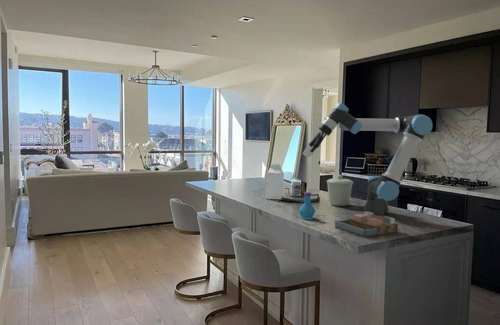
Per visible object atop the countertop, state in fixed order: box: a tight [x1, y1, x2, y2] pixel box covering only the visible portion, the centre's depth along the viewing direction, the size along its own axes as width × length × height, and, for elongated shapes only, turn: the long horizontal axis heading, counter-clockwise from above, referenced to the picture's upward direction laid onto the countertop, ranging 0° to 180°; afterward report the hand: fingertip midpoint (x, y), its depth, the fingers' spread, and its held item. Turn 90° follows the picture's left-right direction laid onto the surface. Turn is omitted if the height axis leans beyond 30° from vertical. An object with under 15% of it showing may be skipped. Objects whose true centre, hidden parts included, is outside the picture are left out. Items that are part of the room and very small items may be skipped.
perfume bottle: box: [298, 191, 316, 220], centre depth 220 cm, size 9×9×15 cm
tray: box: [334, 219, 378, 238], centre depth 192 cm, size 8×21×4 cm, turn 29°
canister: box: [326, 174, 354, 207], centre depth 262 cm, size 18×18×21 cm
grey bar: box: [363, 197, 396, 225], centre depth 199 cm, size 3×18×12 cm, turn 29°
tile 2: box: [368, 218, 382, 226], centre depth 191 cm, size 5×5×2 cm
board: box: [347, 217, 399, 236], centre depth 198 cm, size 15×20×4 cm
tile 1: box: [352, 213, 367, 221], centre depth 200 cm, size 5×5×2 cm
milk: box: [264, 163, 285, 200], centre depth 284 cm, size 12×12×26 cm
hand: (305, 155), depth 223 cm, fingers open, 13 cm apart
